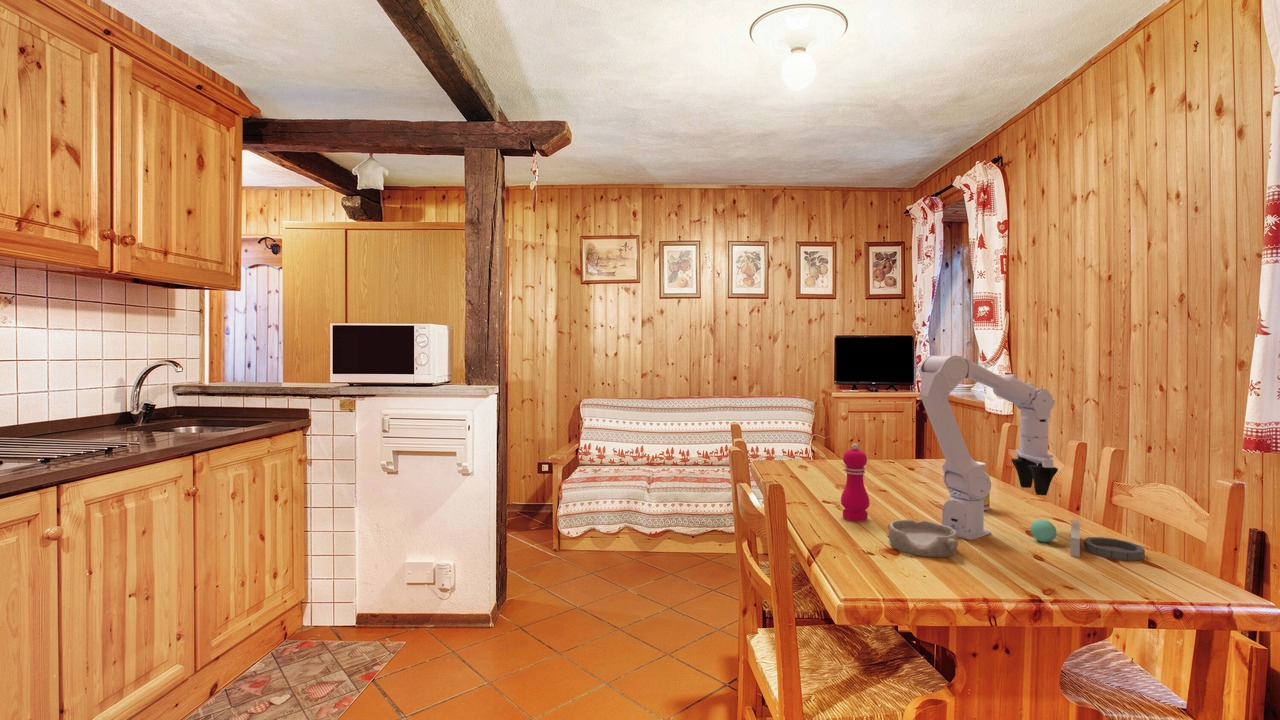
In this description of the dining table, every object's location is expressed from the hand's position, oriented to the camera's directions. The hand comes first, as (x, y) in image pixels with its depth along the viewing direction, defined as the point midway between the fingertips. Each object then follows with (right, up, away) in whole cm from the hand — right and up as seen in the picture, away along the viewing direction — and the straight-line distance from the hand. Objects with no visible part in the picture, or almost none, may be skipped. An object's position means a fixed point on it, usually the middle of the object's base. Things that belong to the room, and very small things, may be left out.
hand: (1033, 491), depth 143 cm
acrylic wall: (+1, -10, -12) cm, 16 cm away
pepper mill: (-40, -10, +11) cm, 43 cm away
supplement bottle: (-3, -10, +20) cm, 22 cm away
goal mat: (+6, -10, -16) cm, 20 cm away
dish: (-34, -11, -12) cm, 37 cm away
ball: (-4, -7, -9) cm, 12 cm away
